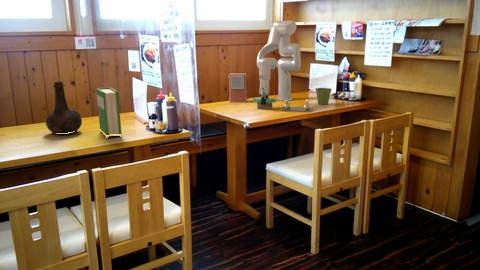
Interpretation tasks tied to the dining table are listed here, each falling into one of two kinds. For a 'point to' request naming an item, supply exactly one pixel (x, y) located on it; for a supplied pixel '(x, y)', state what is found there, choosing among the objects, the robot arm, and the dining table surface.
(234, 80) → the control panel
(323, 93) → the plant pot
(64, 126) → the glass bottle
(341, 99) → the dining table surface
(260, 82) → the robot arm
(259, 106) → the walnut stand
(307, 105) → the chassis
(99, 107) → the hardback book
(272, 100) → the circuit board
